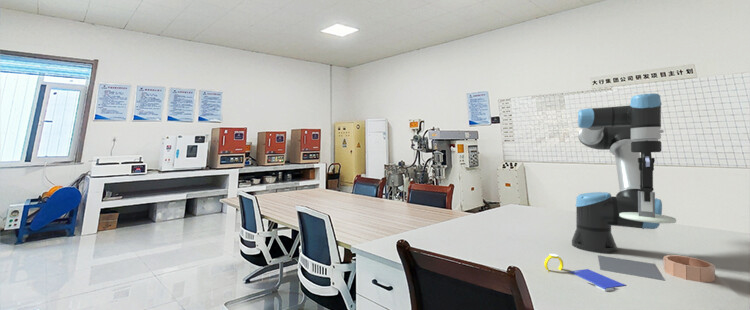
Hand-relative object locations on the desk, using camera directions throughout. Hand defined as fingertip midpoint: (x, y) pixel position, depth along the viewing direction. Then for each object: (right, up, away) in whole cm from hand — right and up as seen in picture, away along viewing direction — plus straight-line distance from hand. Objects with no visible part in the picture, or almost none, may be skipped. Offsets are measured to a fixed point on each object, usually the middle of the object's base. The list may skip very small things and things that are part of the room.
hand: (646, 210), depth 99 cm
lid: (0, -3, 0) cm, 3 cm away
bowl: (+10, -21, -4) cm, 23 cm away
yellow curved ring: (-30, -22, +2) cm, 37 cm away
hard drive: (-21, -22, -5) cm, 31 cm away
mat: (-4, -21, +3) cm, 21 cm away
